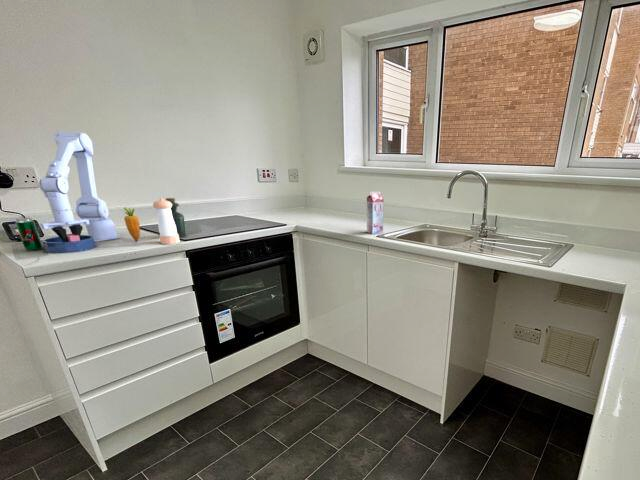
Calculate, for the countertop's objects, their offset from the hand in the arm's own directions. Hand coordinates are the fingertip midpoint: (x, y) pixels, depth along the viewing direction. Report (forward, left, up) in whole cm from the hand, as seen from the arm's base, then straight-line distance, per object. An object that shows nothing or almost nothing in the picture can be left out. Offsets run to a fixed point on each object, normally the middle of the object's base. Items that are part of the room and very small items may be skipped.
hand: (72, 244), depth 141 cm
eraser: (0, 0, -1) cm, 1 cm away
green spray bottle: (-37, +10, -2) cm, 38 cm away
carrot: (-21, +5, -2) cm, 22 cm away
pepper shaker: (-27, +19, -2) cm, 33 cm away
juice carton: (-101, +84, -2) cm, 132 cm away
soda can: (+8, -11, -2) cm, 13 cm away
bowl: (0, -2, -2) cm, 2 cm away
